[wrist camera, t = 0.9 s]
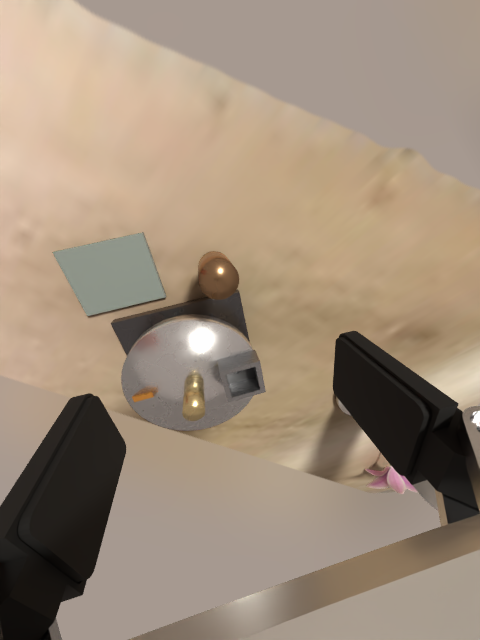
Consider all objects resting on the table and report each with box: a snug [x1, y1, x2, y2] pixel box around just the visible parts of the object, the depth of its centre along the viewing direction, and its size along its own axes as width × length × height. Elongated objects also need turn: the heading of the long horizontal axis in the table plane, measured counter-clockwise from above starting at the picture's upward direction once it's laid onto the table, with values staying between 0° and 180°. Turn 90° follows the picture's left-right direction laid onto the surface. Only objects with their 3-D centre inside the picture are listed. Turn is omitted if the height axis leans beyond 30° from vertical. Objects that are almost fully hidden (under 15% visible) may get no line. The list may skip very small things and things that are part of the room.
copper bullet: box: [198, 251, 239, 300], centre depth 25 cm, size 4×4×10 cm
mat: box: [53, 233, 166, 316], centre depth 27 cm, size 10×8×1 cm
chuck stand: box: [111, 290, 249, 356], centre depth 32 cm, size 17×17×4 cm
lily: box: [365, 465, 418, 494], centre depth 52 cm, size 12×12×10 cm
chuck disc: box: [121, 314, 266, 431], centre depth 27 cm, size 17×17×7 cm
